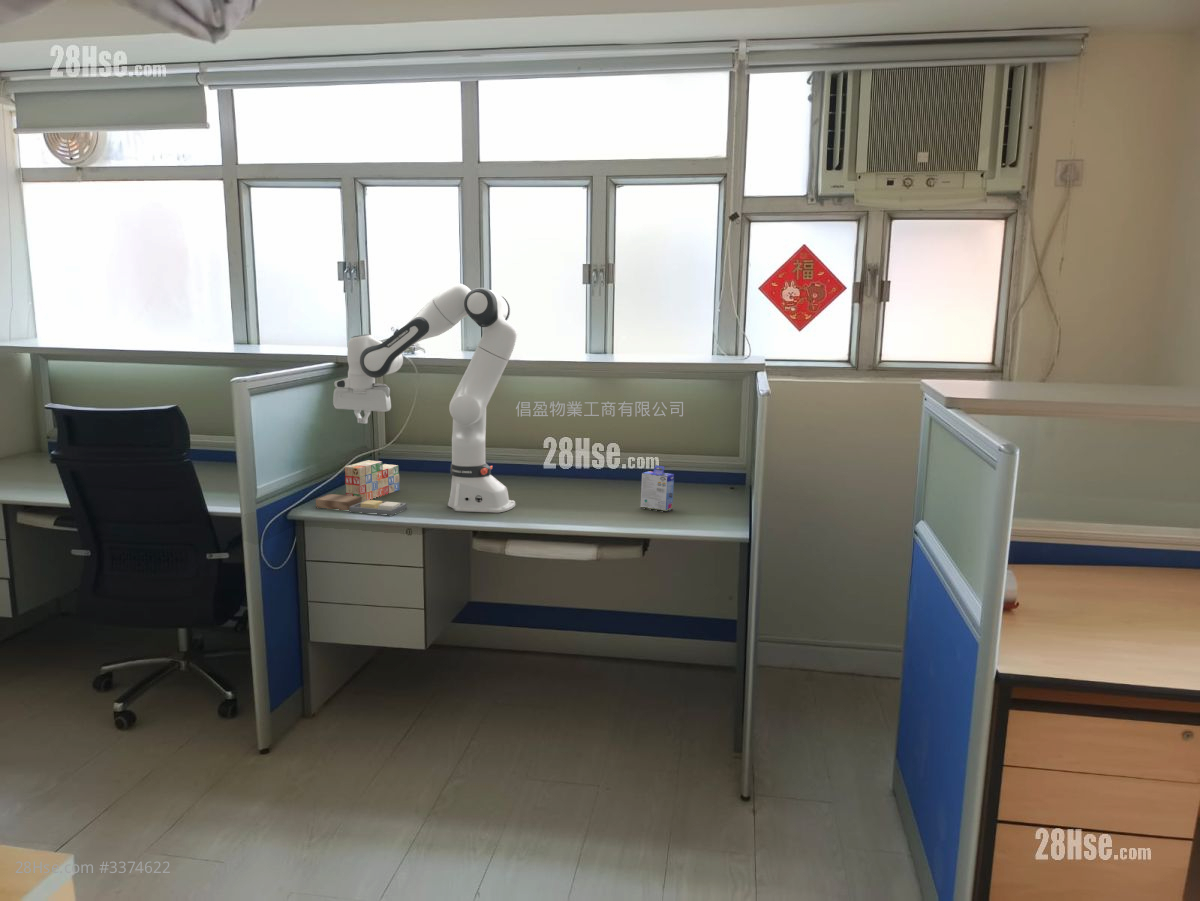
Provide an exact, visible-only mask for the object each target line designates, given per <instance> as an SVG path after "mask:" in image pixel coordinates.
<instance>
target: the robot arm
mask: <svg viewBox="0 0 1200 901" xmlns="http://www.w3.org/2000/svg"><path fill="white" fill-rule="evenodd" d="M510 307H511V306H510V304H509V302H508V300H507V299H506V298H505V297H504V296H502V295H501V294H499V293H498V292H496V291H494V290H491V289H488V288H486V287H477V288H474V289H472V290H471V289H470V288H469V287H468V285H467V286H466V285H465V284H463V283H454V284H452V285H451V286H449V287H447V288H446V289H444V290H443V291H441V292H439V293H438V294H436V296H435V297H433V298H432V299H431V300H429V301H428V302H427V303H426V304H425V305H424V306H423V307H422V308H421V309H420V310H419V312H417V313H416V314H415V315H414V316H413V317H412V318H411V319H410V320H409V321H408V322H407V323H406V324H405V325H404V326H402V327H401V328H400V329H399V330H397V331H395V333H394V334H392V335H391V336H390V337H388V338H387V339H385V341H383V342H382V341H381V340H379V339H378V338H375V337H374V335H372V334H370V333H369V334H367V333H366V334H359V335H354V336H351V337H350V338H349V340H348V344H347V364H348V370H347V377H344V378H342V379H339V380H335V381H334V384H333V385H334V387H335V388H334V390H333V395H332V398H333V399H332V405H333V406H334V408H335V409H337V410H349V411H351V410H353V413H354V415H355V417H356V419H357V421H356V422H357V424H363V425H364V424H368V421H369V420H368V418H369V416H370V415H371V414H372V413H371V412H381V413H382V412H383V413H384V412H385V413H386V412H389V411H390V410H391V409H392V402H391V396H390V394H391V390H390V387H389V386H388V385H387V384H385V383H376V378H378V379H379V378H381V377H383V376H387V375H390V374H394V373H396V372H398V371H399V370H400V369H401V368H402V367H403V364H404V355H403V353H404V352H406V351H408V350H409V348H411V347H412V346H414V345H415V344H417V343H418V342H421V341H424V340H427V339H431V338H433V337H438V336H440V335H443V334H444V333H446V332H447V331H450V330H451V329H452V328H453V327H455V326H456V325H457V324H458V323H459V322H461V321H462V320H463V319H464V318H467V317H470V318H471V319H472V321H473V322H474V323H476V324H477V325H478V327H480V328H482V330H483V331H482V336H481V338H480V340H479V342H478V344H477V346H476V349H475V350H474V353H473V355H472V357H471V359H470V362H469V363H468V364H467V365H468V366H467V367H466V369H465V370H464V371H465V372H464V374H462V375H463V376H462V377H461V380H460V381H459V384H458V385H457V388H456V390H455V392H454V393H453V396H452V398H451V400H450V402H449V407H448V408H449V413H450V414H449V415H450V416H451V417H452V434H451V463H450V480H451V486H450V494H449V499H448V502H447V506H448V507H449V508H451V509H453V510H454V511H455V512H473V513H474V512H475V513H504V512H506V511H510V510H511V509H514V507H515V506H516V501H515V500H511V499H510V497H509V491H508V487H507V486H506V485H504V484H503V483H502V482H501V481H499V480H498V479H497V478H496V477H495V476H493V475H492V472H491V471H492V469H493V465H489V464H488V463H487V462H486V461H487V460H486V434H487V432H486V431H487V406H488V404H489V402H490V400H491V398H492V396H493V395H494V392H495V390H496V388H497V385H498V384H499V382H500V380H501V378H502V375H503V373H504V371H505V368H506V367H507V365H508V362H509V360H510V359H511V356H512V353H513V351H514V349H515V345H516V342H517V338H518V330H517V329H516V327H515V326H514V325H513V324H512V323H511V322H509V321H508V320H509V319H510V318H509V317H510V315H511V308H510ZM362 411H363V414H364V416H362V415H361V413H362Z"/></svg>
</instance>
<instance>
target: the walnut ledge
mask: <svg viewBox="0 0 1200 901" xmlns="http://www.w3.org/2000/svg"><path fill="white" fill-rule="evenodd" d="M360 502H362V497H359V496H348V495H346V494H334V493H328V494H325V495H324V496H320V497H318V498H316V499H315V508H316V507H318V508H317V509H319V508H327V509H326V510H330V509H339V510H338V511H341V510H349V507H350V506H352V505H355V504H357V503H360Z"/></svg>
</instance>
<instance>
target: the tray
mask: <svg viewBox="0 0 1200 901" xmlns="http://www.w3.org/2000/svg"><path fill="white" fill-rule="evenodd" d="M365 501H367V500H364V501H362V502H365ZM381 501H382V502H383V503H384V502H386V501H385V500H384V501H383V500H381ZM362 502H360V503H357V504H355V505H352V506H350V507H349V511H348V512H350V511H351V512H350V513H352V512H362V513H361V514H363V513H377V514H387V515H393V514H395V513H397V514H399V513H401V512H403V511H405V510H408V504H407V503H405V502H399V503H400V506H398V507H395V508H393V509H391V510H386V509H375V508H364V507H361V503H362ZM404 509H405V510H404ZM402 510H403V511H402ZM400 511H401V512H400ZM398 512H399V513H398ZM395 515H396V514H395ZM393 516H394V515H393Z"/></svg>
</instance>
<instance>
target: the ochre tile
mask: <svg viewBox="0 0 1200 901" xmlns="http://www.w3.org/2000/svg"><path fill="white" fill-rule="evenodd" d="M382 501H383V500H374V499H371V500H367V501H365V502H362V503H361V507H364V508H375V509H379V505H380V504H382V503H383V502H382Z"/></svg>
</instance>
